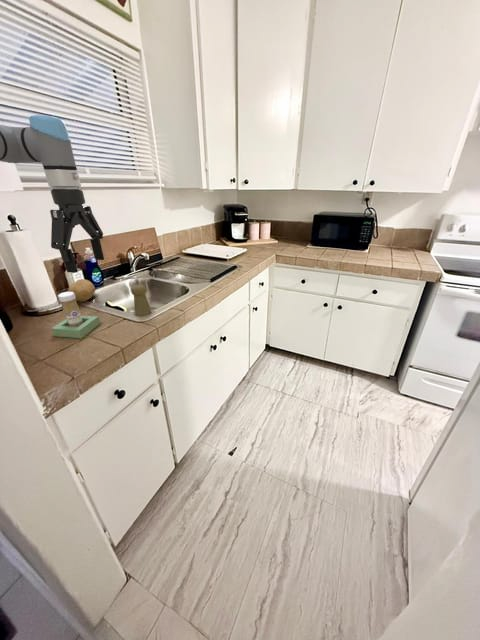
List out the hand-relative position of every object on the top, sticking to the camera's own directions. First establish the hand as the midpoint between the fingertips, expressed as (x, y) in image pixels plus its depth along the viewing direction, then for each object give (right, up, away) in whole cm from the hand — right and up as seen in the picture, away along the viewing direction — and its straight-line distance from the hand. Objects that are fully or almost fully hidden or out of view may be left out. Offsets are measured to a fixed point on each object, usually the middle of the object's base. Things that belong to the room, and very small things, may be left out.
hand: (87, 265), depth 80 cm
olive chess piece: (+9, -14, +22) cm, 28 cm away
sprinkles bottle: (-9, -20, +10) cm, 24 cm away
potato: (-21, -8, +33) cm, 40 cm away
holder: (-9, -20, +10) cm, 24 cm away
